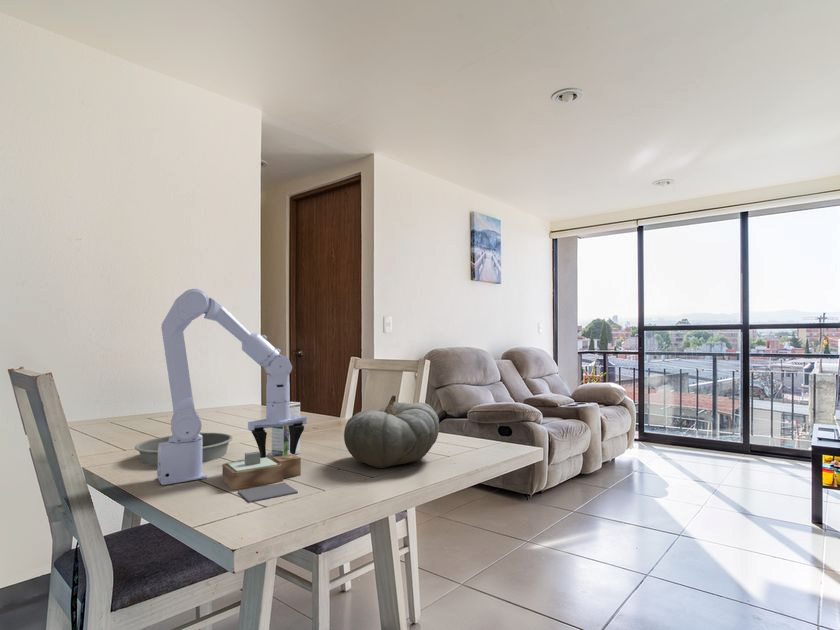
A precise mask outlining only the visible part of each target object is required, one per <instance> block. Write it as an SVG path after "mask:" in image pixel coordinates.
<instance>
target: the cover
mask: <svg viewBox="0 0 840 630" xmlns="http://www.w3.org/2000/svg"><path fill="white" fill-rule="evenodd" d="M227 463H228V467H229V468H231V469H232V470H233V471H234V472H240V471H246V470H253V469H259V468H265V467H271V466H277V465H278V464H277V463H275V462H273V461H272V460H270V459H268V456H266V458H260V452H259V451H251V452H244V460H241V461H240V462H239V461H234V462H227Z"/></svg>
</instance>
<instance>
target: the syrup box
mask: <svg viewBox="0 0 840 630" xmlns="http://www.w3.org/2000/svg"><path fill="white" fill-rule="evenodd" d="M294 416H301V401H299V402H298V401H290V417H294ZM286 424H287V423H286ZM273 425H278V424H273ZM271 452H281V453H283V455H290V454H291V453H290V434H289V427H288V426H281V427H272V428H271ZM298 454H301V437H300V438H299V441H298V444H297V448H296V453H295V454H294V455H296V456H297V455H298Z"/></svg>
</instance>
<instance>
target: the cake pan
mask: <svg viewBox="0 0 840 630" xmlns="http://www.w3.org/2000/svg"><path fill="white" fill-rule="evenodd" d="M199 434H200V435H202V436H203V437H202V438H203V445H202V463H204V462H205V463H206V462H211V461H213V460H217V459H220V458H222V457H224V456H225V455H226V454H227V452H228V448H229V443H230V442H232V440H233V438H234V437H233V436H232V435H231V434H227V433H222V432H200V433H199ZM171 436H172V435H169V436H168V435H167V436H161V437H156V438H152V439H149V440H145V441H144V440H143V441H142V442H139V443H138V444H136V445H135V446H134V449H135V450H136V451H137V452H139V456H140V458H141V463H142V464H144V463H145V465H147V466H152V465H153V467H154V466H155V467H158V445H159V443H163V442H167V441H169V437H171Z"/></svg>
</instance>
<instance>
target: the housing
mask: <svg viewBox="0 0 840 630" xmlns="http://www.w3.org/2000/svg"><path fill="white" fill-rule="evenodd" d="M267 458H268V459H270V460H272V461H273V462H275V463H277V464H278V465H277V466H271V467H265V468H259V469H253V470H246V471H240V472H234V471H233V470H232V469H231V468H229V467H228V463H229V462H227V463H224V464H222V468H221V469H222V470H221V471H222V473H221V475H222V478H221V479H222V482H224V484H226V485H227V487H228V488H230V489H231V490H232V491H235V490H241V489H245V488H246V489H247V488H251V487H256V486H257V487H258V486H262V485H263V486H264V485H267V484H268V485H269V484H275V483H280V482H284V479H286V478H292V477H297V476H298V477H299V476H301V473H302V467H301V464H302V462H301V460H302V458H301V457H299V456H298V455H297V454H296V455H294V454H290V455H283V456H277V457H273V459H272V458H271V457H268V456H267ZM238 462H240V461H238Z"/></svg>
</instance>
